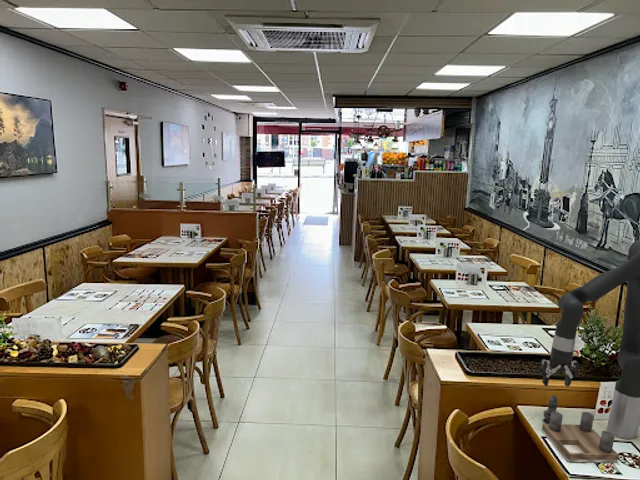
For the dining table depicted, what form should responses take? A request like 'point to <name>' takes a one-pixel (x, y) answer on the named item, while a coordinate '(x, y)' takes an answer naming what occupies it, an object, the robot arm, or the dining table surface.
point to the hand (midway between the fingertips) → (555, 385)
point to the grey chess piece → (550, 409)
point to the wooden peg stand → (580, 440)
